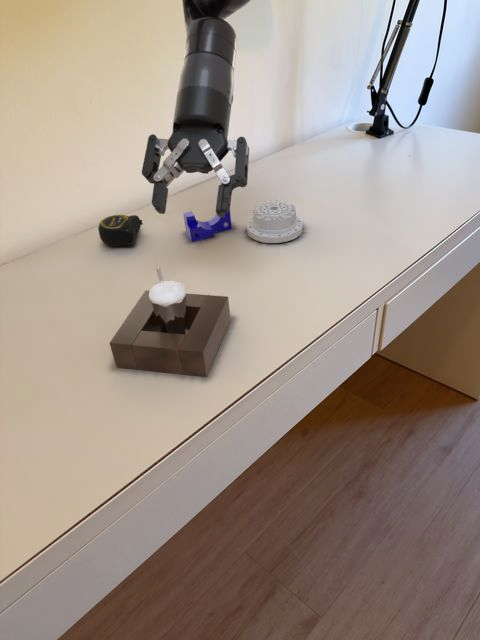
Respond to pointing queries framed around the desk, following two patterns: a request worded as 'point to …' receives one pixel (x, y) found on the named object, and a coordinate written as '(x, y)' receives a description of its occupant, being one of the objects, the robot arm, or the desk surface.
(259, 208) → the mechanical component
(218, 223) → the cable holder
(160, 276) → the milkshake
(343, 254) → the desk surface
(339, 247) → the desk surface
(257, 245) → the desk surface
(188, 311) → the socket block
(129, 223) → the tape measure
